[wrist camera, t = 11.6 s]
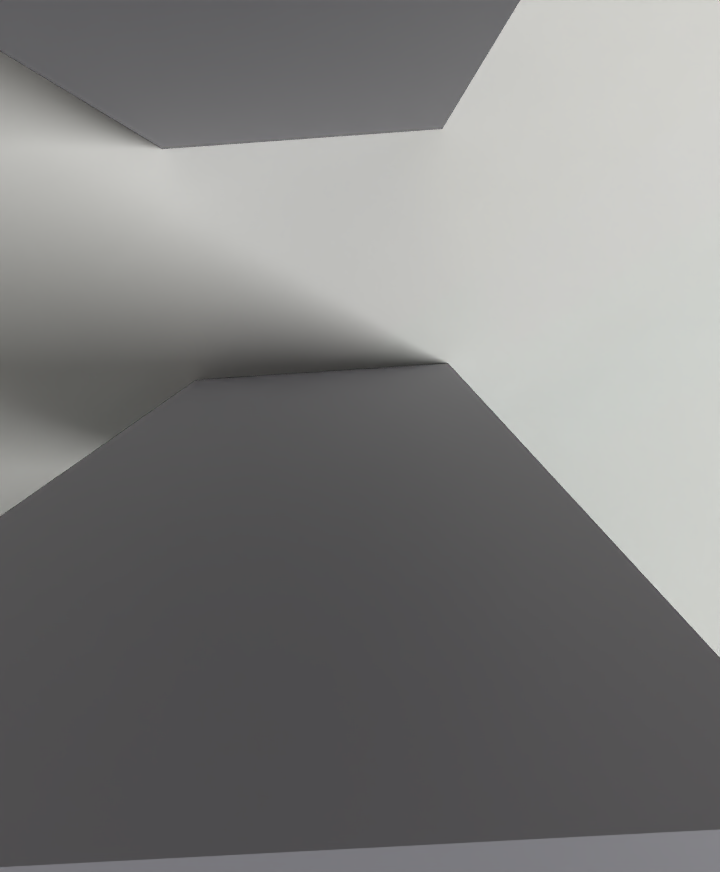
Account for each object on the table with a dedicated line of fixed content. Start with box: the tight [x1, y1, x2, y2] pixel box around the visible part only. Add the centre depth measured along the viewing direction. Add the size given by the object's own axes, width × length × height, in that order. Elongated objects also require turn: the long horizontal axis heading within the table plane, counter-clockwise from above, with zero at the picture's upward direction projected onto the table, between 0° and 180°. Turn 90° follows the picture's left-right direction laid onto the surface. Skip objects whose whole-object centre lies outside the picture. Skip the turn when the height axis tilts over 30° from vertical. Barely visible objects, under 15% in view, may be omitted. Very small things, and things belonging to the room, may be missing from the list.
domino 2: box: [0, 363, 720, 872], centre depth 7 cm, size 2×5×10 cm, turn 94°
